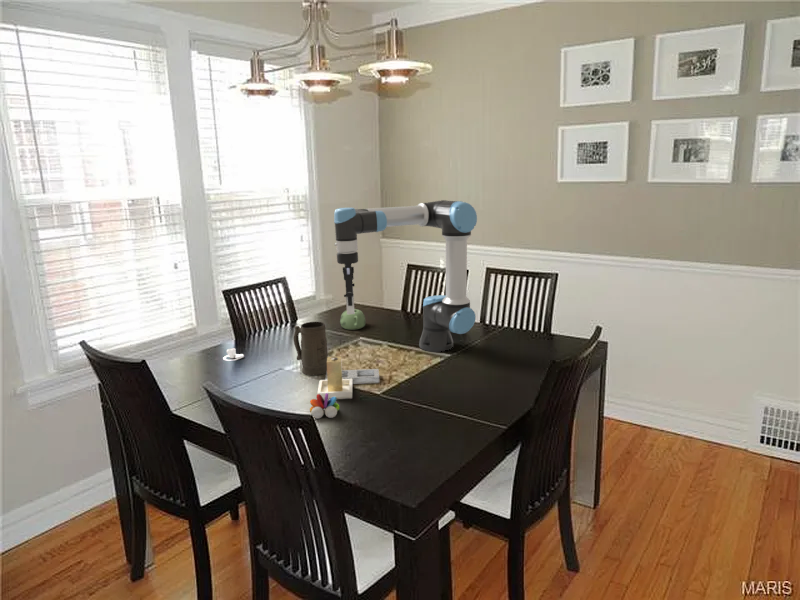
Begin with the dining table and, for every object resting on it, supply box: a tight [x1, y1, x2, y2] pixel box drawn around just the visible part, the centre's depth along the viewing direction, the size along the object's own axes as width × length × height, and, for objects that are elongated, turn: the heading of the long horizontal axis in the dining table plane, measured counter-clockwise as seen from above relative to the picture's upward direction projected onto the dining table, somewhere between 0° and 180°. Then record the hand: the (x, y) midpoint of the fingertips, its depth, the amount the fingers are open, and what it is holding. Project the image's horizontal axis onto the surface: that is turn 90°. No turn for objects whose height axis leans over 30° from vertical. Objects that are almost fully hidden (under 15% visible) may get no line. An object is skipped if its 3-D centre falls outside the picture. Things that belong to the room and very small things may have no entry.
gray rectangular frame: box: [324, 368, 380, 385], centre depth 205 cm, size 20×8×2 cm, turn 94°
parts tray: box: [316, 379, 354, 400], centre depth 194 cm, size 12×12×2 cm
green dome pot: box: [339, 308, 366, 331], centre depth 270 cm, size 16×13×9 cm
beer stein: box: [292, 321, 329, 376], centre depth 213 cm, size 15×10×20 cm
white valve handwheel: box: [222, 347, 245, 362], centre depth 230 cm, size 9×8×4 cm
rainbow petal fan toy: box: [309, 393, 341, 420], centre depth 176 cm, size 8×10×7 cm
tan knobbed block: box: [327, 356, 343, 392], centre depth 192 cm, size 5×5×12 cm
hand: (350, 308), depth 199 cm, fingers open, 13 cm apart
